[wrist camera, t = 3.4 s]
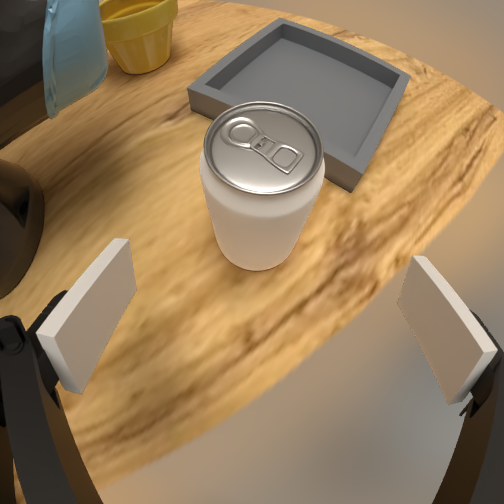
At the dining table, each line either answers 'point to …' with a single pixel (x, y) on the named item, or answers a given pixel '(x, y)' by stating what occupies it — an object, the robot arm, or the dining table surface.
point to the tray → (310, 90)
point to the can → (260, 180)
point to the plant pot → (138, 32)
